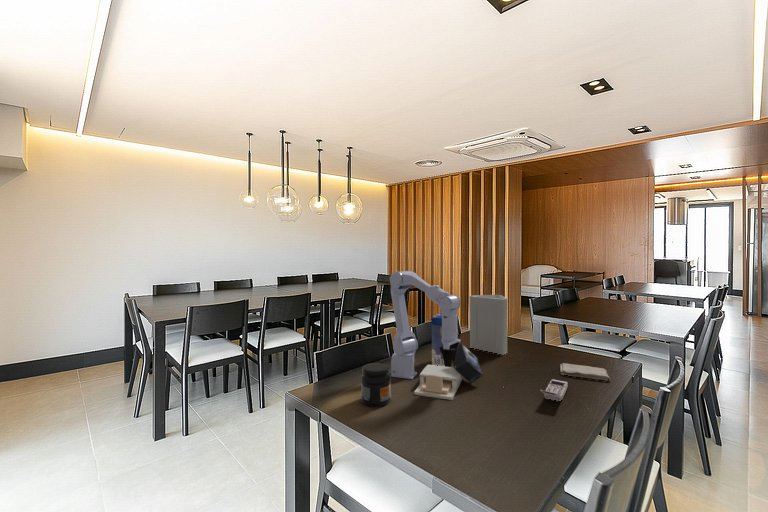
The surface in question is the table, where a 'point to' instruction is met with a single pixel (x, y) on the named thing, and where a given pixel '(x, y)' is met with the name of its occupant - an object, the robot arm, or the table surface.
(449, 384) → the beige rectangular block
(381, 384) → the supplement container
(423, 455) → the table surface
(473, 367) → the small box
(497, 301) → the grey tall box
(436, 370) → the ticket dispenser
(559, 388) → the mobile phone
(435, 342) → the beverage box
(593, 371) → the washcloth
